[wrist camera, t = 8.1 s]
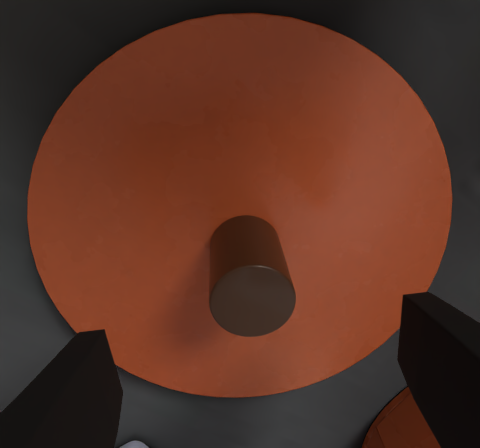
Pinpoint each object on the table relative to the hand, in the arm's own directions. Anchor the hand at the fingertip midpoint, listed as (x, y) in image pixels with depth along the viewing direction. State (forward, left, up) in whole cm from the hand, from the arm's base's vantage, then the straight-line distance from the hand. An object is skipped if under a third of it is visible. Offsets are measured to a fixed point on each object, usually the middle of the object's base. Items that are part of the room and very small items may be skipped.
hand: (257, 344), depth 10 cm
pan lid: (0, 0, -5) cm, 5 cm away
